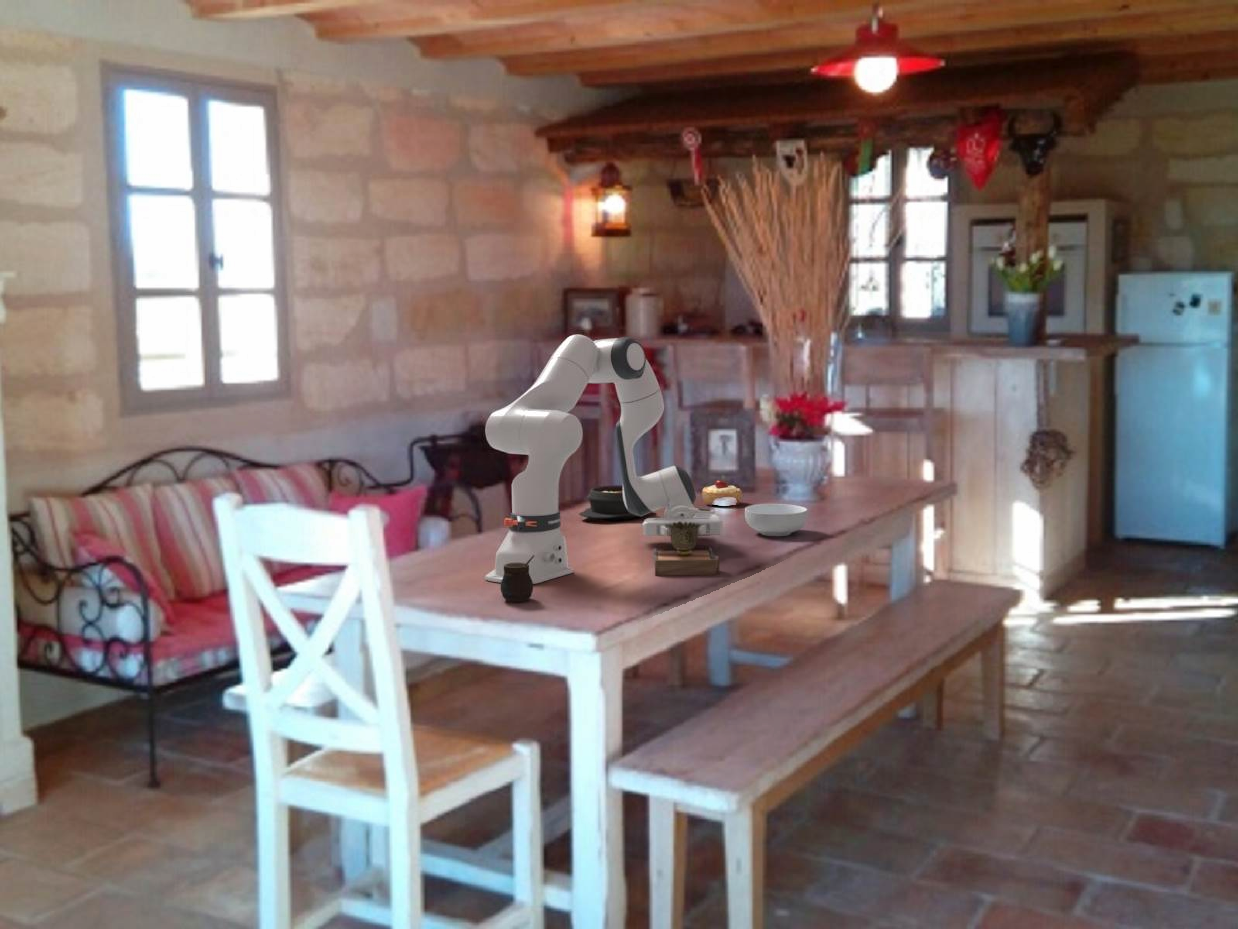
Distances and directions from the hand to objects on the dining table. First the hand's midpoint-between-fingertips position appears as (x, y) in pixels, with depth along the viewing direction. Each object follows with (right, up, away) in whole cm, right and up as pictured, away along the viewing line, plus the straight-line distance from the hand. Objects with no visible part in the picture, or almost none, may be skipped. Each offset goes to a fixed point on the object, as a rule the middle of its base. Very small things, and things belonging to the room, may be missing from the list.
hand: (683, 532), depth 351 cm
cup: (0, -6, +2) cm, 6 cm away
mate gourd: (-38, -13, -42) cm, 58 cm away
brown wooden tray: (0, -7, -4) cm, 8 cm away
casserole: (-17, +1, +61) cm, 63 cm away
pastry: (+15, +4, +79) cm, 81 cm away
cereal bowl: (+26, -2, +30) cm, 40 cm away
